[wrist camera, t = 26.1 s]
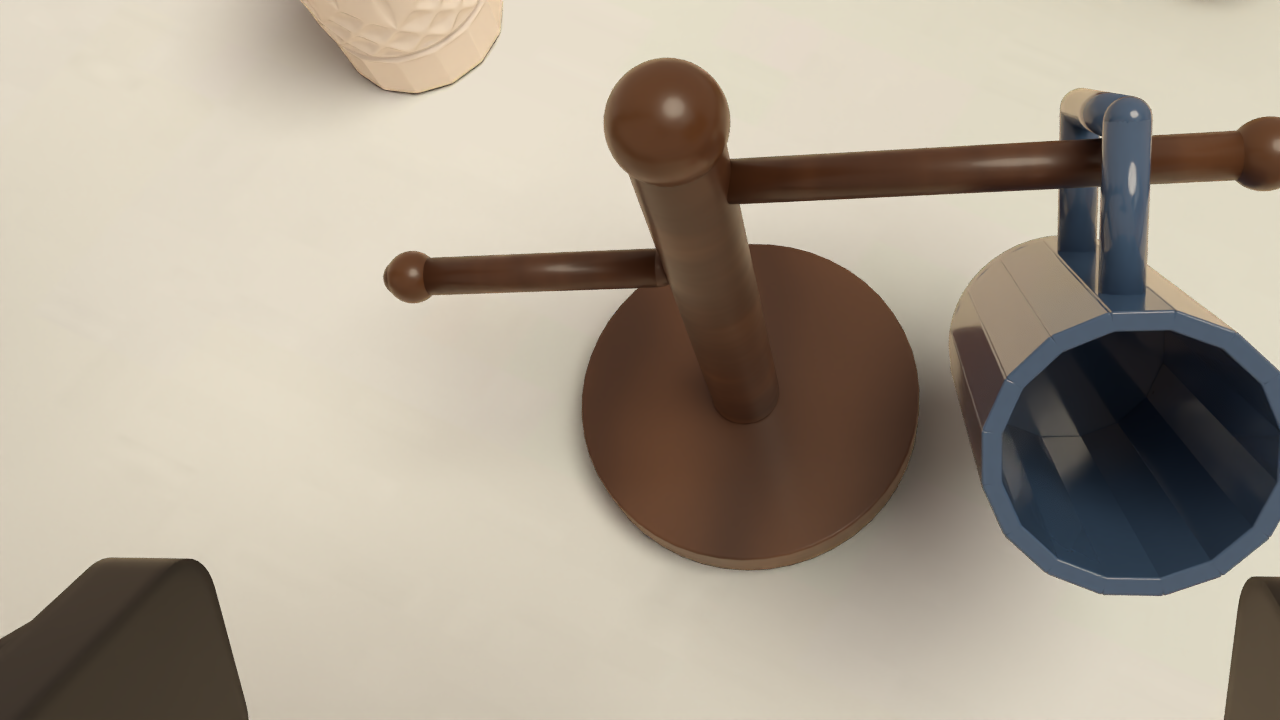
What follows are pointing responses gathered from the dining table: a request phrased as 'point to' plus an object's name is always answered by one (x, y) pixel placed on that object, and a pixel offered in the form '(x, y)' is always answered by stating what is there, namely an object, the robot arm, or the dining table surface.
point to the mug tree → (767, 319)
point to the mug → (1114, 391)
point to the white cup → (411, 38)
